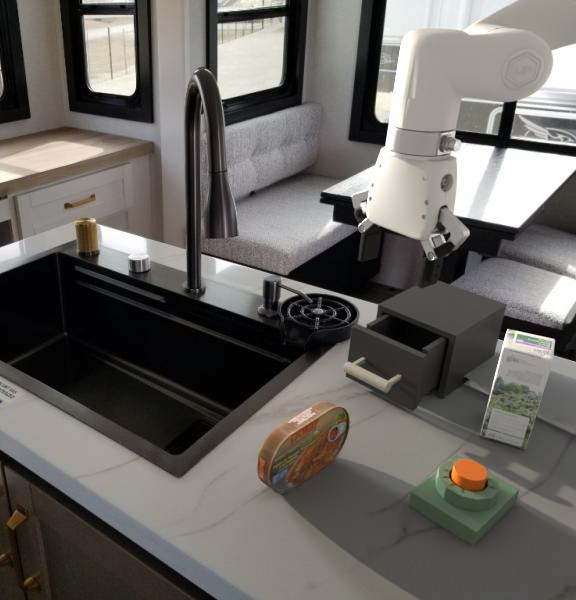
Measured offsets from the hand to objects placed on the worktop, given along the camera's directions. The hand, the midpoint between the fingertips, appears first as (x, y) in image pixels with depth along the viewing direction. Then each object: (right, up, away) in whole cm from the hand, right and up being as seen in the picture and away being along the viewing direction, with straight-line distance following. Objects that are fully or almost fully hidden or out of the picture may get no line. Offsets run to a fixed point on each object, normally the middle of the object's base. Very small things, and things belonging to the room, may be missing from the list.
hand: (395, 271), depth 84 cm
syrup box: (+16, -22, +3) cm, 27 cm away
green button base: (+5, -28, -8) cm, 30 cm away
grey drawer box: (+12, -14, +19) cm, 26 cm away
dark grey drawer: (+4, -16, +13) cm, 21 cm away
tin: (-13, -26, -3) cm, 29 cm away
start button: (+5, -25, -10) cm, 27 cm away
